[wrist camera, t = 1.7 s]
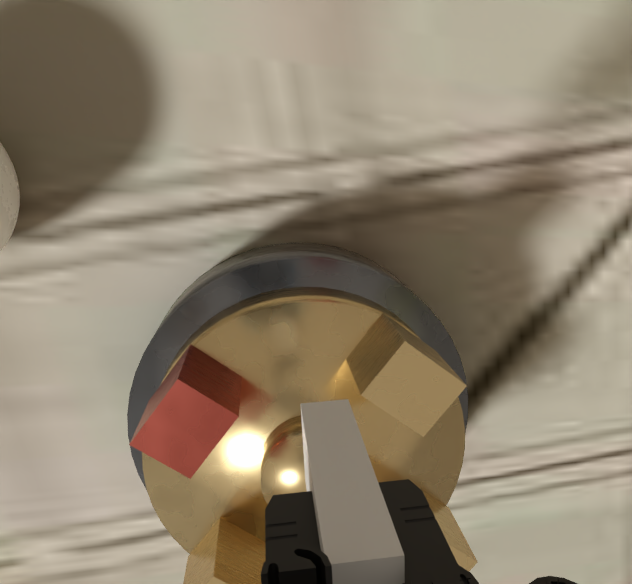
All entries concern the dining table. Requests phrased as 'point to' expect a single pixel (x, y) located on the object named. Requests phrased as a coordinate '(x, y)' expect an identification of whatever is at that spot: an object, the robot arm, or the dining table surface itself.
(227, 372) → the ring nut
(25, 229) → the dining table surface
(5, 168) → the lidded jar
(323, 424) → the robot arm
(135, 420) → the base
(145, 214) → the dining table surface
